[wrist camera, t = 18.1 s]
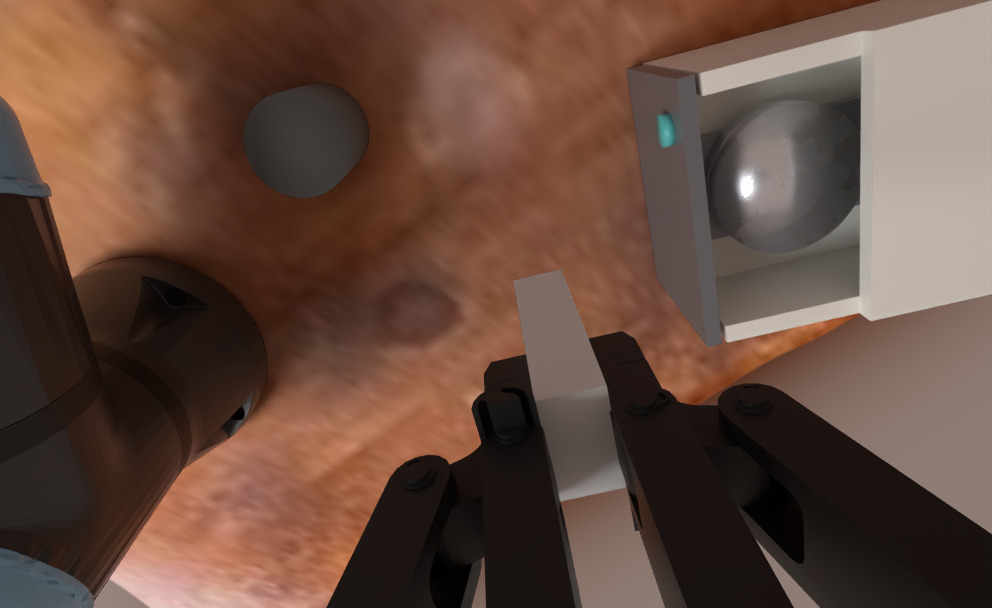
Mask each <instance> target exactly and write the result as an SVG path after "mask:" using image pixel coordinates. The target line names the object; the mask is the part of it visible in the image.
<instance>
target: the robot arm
mask: <svg viewBox="0 0 992 608" xmlns="http://www.w3.org/2000/svg"><path fill="white" fill-rule="evenodd" d="M50 196H52V195H51V190H50V188H49V186H48V185H47V184H46V183H44V182H42V179H41V177H40V174H39V172H38V169H37V167H36V164H35V162H34V159H33V157H32V154H31V152H30V149H29V147H28V144H27V141H26V138H25V136H24V133H23V130H22V127H21V125H20V122H19V120H18V117H17V116H16V114H15V112H14V111H13V109H12V108H11V106H10V105H9V104H8V103H7V102H6V101H5V100H4V99H3V98H2V97H1V96H0V608H93V606H94V601H95V599H96V597H97V596H98V594H99V593H100V591H101V590H102V588H103V587H104V586H105V584H106V583H107V581H108V580H109V578H110V577H111V575H112V574H113V572H114V571H115V569H116V568H117V566H118V565H119V563H120V562H121V560H122V559H123V557H124V556H125V554H126V553H127V551H128V550H129V548H130V547H131V545H132V544H133V542H134V541H135V539H136V538H137V536H138V535H139V533H140V532H141V530H142V529H143V527H144V526H145V524H146V523H147V521H148V520H149V518H150V517H151V515H152V514H153V512H154V511H155V509H156V508H157V506H158V505H159V503H160V502H161V501H162V499H163V498H164V496H165V495H166V493H167V492H168V490H169V489H170V487H171V486H172V484H173V483H174V481H175V480H176V478H177V477H178V476H179V474H180V473H181V471H182V470H183V469H184V468H186V467H187V466H189V465H190V464H192V463H193V462H195V461H196V460H198V459H199V458H201V457H202V456H204V455H205V454H207V453H208V452H210V451H211V450H213V449H214V448H216V447H217V446H219V445H221V444H222V443H224V442H225V441H226V440H228V439H229V438H231V437H232V436H233V435H234V434H235V433H236V432H237V431H238V430H239V429H240V428H241V427H242V426H243V425H244V423H245V422H246V421H247V419H248V418H249V416H250V415H251V413H252V411H253V410H254V408H255V407H256V405H257V403H258V402H259V400H260V398H261V396H262V393H263V391H264V388H265V384H266V379H267V356H266V350H265V346H264V343H263V340H262V337H261V335H260V333H259V330H258V328H257V327H256V325H255V323H254V321H253V320H252V318H251V317H250V315H249V314H248V312H247V311H246V310H245V309H244V307H243V306H242V305H241V304H240V303H239V302H238V301H237V300H236V299H235V298H234V297H233V296H232V295H231V294H230V293H229V292H228V291H227V290H225V289H224V288H223V287H222V286H220V285H219V284H218V283H216V282H215V281H213V280H212V279H210V278H208V277H207V276H205V275H203V274H201V273H199V272H197V271H195V270H193V269H191V268H188V267H186V266H183V265H180V264H177V263H174V262H170V261H166V260H162V259H156V258H147V257H126V258H118V259H113V260H109V261H105V262H102V263H99V264H97V265H94V266H92V267H90V268H88V269H87V270H85V271H83V272H82V273H80V274H78V275H77V276H75V277H73V278H72V277H71V274H70V270H69V267H68V263H67V260H66V257H65V253H64V250H63V246H62V243H61V239H60V236H59V233H58V229H57V226H56V222H55V219H54V216H53V212H52V209H51V205H50V202H49V198H48V197H50ZM513 282H514V288H515V294H516V300H517V305H518V311H519V317H520V322H521V328H522V334H523V340H524V345H525V351H526V354H525V355H521V356H516V357H512V358H508V359H503V360H499V361H494V362H491V363H490V365H489V367H488V368H487V370H486V371H485V373H484V386H485V388H484V389H485V392H484V393H482V394H480V395H479V396H478V397H477V399H476V400H475V401H474V402H473V406H472V413H473V416H474V419H475V423H476V426H477V429H478V432H479V436H480V439H481V445H480V446H479V447H478V448H477V449H476V450H475V451H474V452H473V453H471V454H470V455H468V456H466V457H465V458H463V459H461V460H459V461H457V462H454V463H452V464H450V465H449V463H448V461H447V460H446V459H444V458H442V457H440V456H436V455H425V456H420V457H416V458H414V459H412V460H409V461H407V462H405V463H404V464H403V465H401V466H400V467H399V468H397V469H396V470H395V472H394V473H393V474H392V476H391V477H390V479H389V481H388V483H387V485H386V487H385V489H384V491H383V493H382V495H381V497H380V499H379V501H378V503H377V505H376V507H375V509H374V512H373V514H372V516H371V518H370V520H369V522H368V524H367V526H366V528H365V530H364V532H363V534H362V536H361V538H360V540H359V542H358V544H357V546H356V548H355V550H354V552H353V554H352V556H351V559H350V561H349V563H348V565H347V567H346V569H345V571H344V573H343V575H342V577H341V579H340V581H339V583H338V585H337V587H336V589H335V591H334V593H333V595H332V597H331V599H330V601H329V604H328V606H327V608H471V607H472V603H473V599H474V595H475V591H476V587H477V583H478V579H479V575H480V571H481V562H482V558H483V557H485V589H486V608H582V604H581V600H580V594H579V589H578V584H577V579H576V574H575V569H574V564H573V560H572V554H571V549H570V544H569V539H568V534H567V529H566V524H565V519H564V515H563V511H562V507H561V503H560V501H563V500H569V499H573V498H578V497H583V496H587V495H592V494H597V493H602V492H606V491H611V490H616V489H620V488H625V482H626V485H627V489H628V494H629V500H630V505H631V511H632V516H633V521H634V526H635V531H638V530H639V532H640V534H641V538H642V541H643V543H644V546H645V549H646V552H647V555H648V558H649V561H650V564H651V567H652V570H653V573H654V576H655V579H656V582H657V585H658V588H659V591H660V594H661V597H662V600H663V603H664V606H665V608H794V607H793V605H792V604H791V602H790V600H789V598H788V596H787V595H786V593H785V591H784V590H783V588H782V586H781V584H780V582H779V581H778V579H777V577H776V575H775V573H774V572H773V570H772V568H771V566H770V564H769V563H768V561H767V559H766V558H765V556H764V554H763V552H762V550H761V549H760V547H759V545H758V543H757V541H758V542H759V543H760V544H761V545H762V546H763V547H764V548H765V549H766V551H767V552H768V553H769V554H770V555H771V556H772V557H773V558H774V559H775V560H776V561H777V562H778V563H779V564H780V565H781V566H782V568H783V569H784V570H785V571H786V572H787V573H788V574H789V575H790V576H791V577H792V578H793V579H794V580H795V581H796V582H797V583H798V584H799V586H800V587H801V588H802V589H803V590H804V591H805V592H806V593H807V594H808V595H809V596H810V597H811V598H812V599H813V600H814V601H815V603H816V604H817V605H818V606H819V607H820V608H992V534H991V533H989V532H988V531H986V530H985V529H983V528H982V527H980V526H979V525H978V524H976V523H975V522H973V521H972V520H970V519H969V518H967V517H966V516H964V515H963V514H961V513H960V512H958V511H957V510H956V509H954V508H952V507H951V506H950V505H948V504H946V503H945V502H944V501H942V500H941V499H939V498H938V497H936V496H935V495H934V494H932V493H930V492H929V491H927V490H926V489H925V488H923V487H922V486H920V485H919V484H917V483H916V482H914V481H913V480H911V479H910V478H909V477H907V476H906V475H904V474H903V473H901V472H900V471H898V470H897V469H895V468H894V467H892V466H891V465H890V464H888V463H887V462H885V461H884V460H882V459H881V458H879V457H878V456H876V455H875V454H873V453H872V452H870V451H869V450H868V449H866V448H865V447H863V446H862V445H860V444H859V443H857V442H856V441H854V440H853V439H851V438H850V437H848V436H847V435H846V434H844V433H843V432H841V431H840V430H838V429H837V428H835V427H834V426H832V425H831V424H829V423H828V422H827V421H825V420H824V419H822V418H821V417H819V416H818V415H816V414H815V413H813V412H812V411H810V410H809V409H807V408H806V407H804V406H803V405H802V404H800V403H799V402H797V401H796V400H794V399H793V398H791V397H790V396H788V395H787V394H785V393H784V392H782V391H780V390H778V389H776V388H774V387H772V386H768V385H763V384H741V385H737V386H733V387H731V388H729V389H727V390H726V391H724V392H722V394H721V395H720V397H719V398H718V405H706V406H705V405H689V404H685V403H680V402H678V401H677V399H676V398H675V397H674V396H673V395H672V394H671V393H670V392H669V391H667V390H665V389H662V388H661V386H660V384H659V382H658V380H657V379H656V377H655V375H654V373H653V371H652V369H651V368H650V366H649V364H648V362H647V360H646V359H645V357H644V355H643V353H642V351H641V349H640V347H639V346H638V344H637V342H636V340H635V338H633V337H631V336H629V335H628V334H626V333H624V332H622V331H620V332H616V333H612V334H607V335H603V336H598V337H594V338H589V339H588V336H587V334H586V331H585V329H584V326H583V324H582V321H581V318H580V316H579V313H578V311H577V308H576V306H575V303H574V301H573V298H572V295H571V293H570V290H569V288H568V285H567V283H566V280H565V278H564V275H563V272H562V270H561V269H560V270H556V271H552V272H547V273H543V274H539V275H535V276H530V277H526V278H522V279H518V280H513ZM624 479H625V481H624ZM755 539H756V540H757V541H756V540H755Z"/></svg>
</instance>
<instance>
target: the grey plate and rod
mask: <svg viewBox="0 0 992 608" xmlns="http://www.w3.org/2000/svg"><path fill="white" fill-rule="evenodd" d="M626 70H627V77H628V83H629V90H630V97H631V104H632V111H633V118H634V124H635V131H636V138H637V145H638V152H639V158H640V165H641V172H642V179H643V186H644V193H645V199H646V206H647V213H648V220H649V227H650V234H651V240H652V247H653V254H654V261H655V268H656V274H657V279H658V280H659V282H660V283H661V284H662V286H663V287H664V289H665V290H666V291H667V293H668V294H669V295H670V297H671V298H672V300H673V301H674V302H675V304H676V305H677V306H678V308H679V309H680V311H681V312H682V313H683V315H684V316H685V317H686V319H687V320H688V321H689V323H690V324H691V326H692V327H693V328H694V330H695V331H696V332H697V334H698V335H699V337H700V338H701V339H702V341H703V342H704V343H705V345H706V346H707V347H710V346H714V345H719V344H722V339H721V329H720V320H719V310H718V300H717V290H716V281H715V271H714V261H713V251H712V241H711V240H714V239H718V238H722V237H726V236H730V235H729V234H727V233H726V232H725V231H724V230H722V229H721V228H720V227H719V226H718V225H717V224H716V223H715V222H714V220H713V219H712V217H711V216H710V214H709V212H708V202H707V193H706V183H705V173H704V166H705V163H706V160H707V157H708V154H709V152H710V150H711V148H712V146H713V144H714V143H715V141H716V140H717V138H718V137H719V135H720V134H721V133H722V131H723V130H724V129H722V130H718V131H714V132H710V133H706V134H702V135H701V134H700V124H699V114H698V105H697V95H696V85H695V75H693V74H688V73H682V72H676V71H670V70H665V69H659V68H653V67H647V66H641V65H638V66H634V67H631V68H627V69H626ZM822 105H827V106H829V107H832V108H834V109H837V110H838V111H840V112H841V113H843V114H845V115H846V116H847V117H848V118H849V119H850V120H851V121H852V122H853V123H854V124H855V126H856V127H857V128H858V130H859V132H860V134H861V94H860V95H856V96H852V97H848V98H845V99H841V100H837V101H833V102H829V103H825V104H822ZM856 205H860V196H859V198H858V200H857V202H856V204H855V205H854V206H856Z"/></svg>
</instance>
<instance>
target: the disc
mask: <svg viewBox="0 0 992 608" xmlns="http://www.w3.org/2000/svg"><path fill="white" fill-rule="evenodd" d="M860 158H861V134H860V132H859V130H858V128H857V127H856V126H855V124H854V123H853V122H852V121H851V120H850V119H849V118H848V117H847V116H846V115H845V114H843V113H841V112H840V111H838V110H837V109H834V108H832V107H829V106H827V105H822V104H818V103H813V102H808V101H803V100H797V99H779V100H773V101H769V102H765V103H762V104H759V105H757V106H755V107H753V108H751V109H749V110H747V111H746V112H744V113H742V114H741V115H740V116H738V117H737V118H736V119H734V120H733V121H732V122H731V123H730V124H729V125H728V126H727V127H726V128H725V129H724V130H723V131H722V133H721V134H720V135H719V137H718V138H717V140H716V141H715V143H714V144H713V146H712V148H711V150H710V152H709V154H708V157H707V160H706V163H705V166H704V173H705V183H706V193H707V202H708V212H709V214H710V216H711V217H712V219H713V220H714V222H715V223H716V224H717V225H718V226H719V227H720V228H721V229H722V230H724V231H725V232H726V233H727V234H729V235H730V236H731V237H733V238H734V239H735V240H736V241H738V242H739V243H740V244H742V245H744V246H746V247H748V248H750V249H753V250H756V251H760V252H765V253H785V252H791V251H795V250H799V249H802V248H805V247H807V246H809V245H812V244H814V243H816V242H817V241H819V240H821V239H822V238H824V237H825V236H827V235H828V234H830V233H831V232H832V231H833V230H834V229H835V228H837V227H838V226H839V225H840V224H841V223H842V222H843V220H844V219H845V218H846V217H847V216H848V214H849V213H850V212H851V210H852V209H853V207H854V205H855V204H856V202H857V200H858V198H859V196H860Z"/></svg>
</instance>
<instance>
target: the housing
mask: <svg viewBox="0 0 992 608" xmlns="http://www.w3.org/2000/svg"><path fill="white" fill-rule="evenodd" d="M642 66H647V67H653V68H659V69H665V70H670V71H676V72H682V73H688V74H693V75H695V85H696V95H697V105H698V114H699V124H700V134H701V135H702V134H706V133H710V132H714V131H718V130H722V129H725V128H726V127H727V126H728V125H729V124H730V123H731V122H732V121H733V120H734V119H736V118H737V117H738V116H740V115H741V114H742V113H744V112H746V111H747V110H749V109H751V108H753V107H755V106H757V105H759V104H762V103H765V102H769V101H773V100H779V99H797V100H803V101H808V102H813V103H818V104H825V103H829V102H833V101H837V100H841V99H845V98H848V97H852V96H856V95H860V94H861V158H860V205H856V206H854V207H853V209H852V210H851V212H850V213H849V214H848V216H847V217H846V218H845V219H844V220H843V222H842V223H841V224H840V225H839V226H838V227H837V228H835V229H834V230H833V231H832V232H831V233H830V234H828V235H827V236H825V237H824V238H822V239H821V240H819V241H817V242H816V243H814V244H812V245H809V246H807V247H805V248H802V249H799V250H795V251H791V252H785V253H765V252H760V251H756V250H753V249H750V248H748V247H746V246H744V245H742V244H740V243H739V242H738V241H736V240H735V239H734V238H733V237H731V236H726V237H722V238H718V239H714V240H711V241H712V251H713V261H714V271H715V281H716V290H717V300H718V310H719V320H720V329H721V335H722V337H723V338H724V339H725V340H726V341H727V342H732V341H736V340H741V339H745V338H750V337H754V336H759V335H763V334H768V333H772V332H776V331H781V330H785V329H790V328H794V327H799V326H803V325H808V324H812V323H817V322H821V321H825V320H830V319H834V318H839V317H843V316H848V315H852V314H857V313H860V314H862V315H863V316H864V317H866V318H867V319H868V320H870V321H873V320H878V319H882V318H887V317H891V316H896V315H900V314H905V313H909V312H914V311H918V310H923V309H927V308H932V307H936V306H940V305H945V304H950V303H954V302H959V301H963V300H967V299H972V298H976V297H981V296H986V295H990V294H992V0H880V1H876V2H873V3H869V4H865V5H861V6H858V7H854V8H850V9H846V10H843V11H839V12H835V13H831V14H827V15H824V16H820V17H816V18H812V19H809V20H805V21H801V22H797V23H793V24H790V25H786V26H782V27H778V28H775V29H771V30H767V31H763V32H759V33H756V34H752V35H748V36H744V37H741V38H737V39H733V40H729V41H725V42H722V43H718V44H714V45H710V46H707V47H703V48H699V49H695V50H692V51H688V52H684V53H680V54H676V55H673V56H669V57H665V58H661V59H658V60H654V61H650V62H646V63H642Z"/></svg>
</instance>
